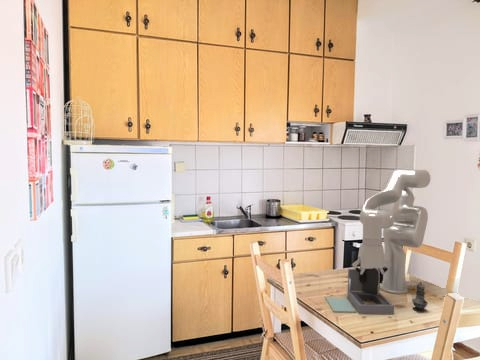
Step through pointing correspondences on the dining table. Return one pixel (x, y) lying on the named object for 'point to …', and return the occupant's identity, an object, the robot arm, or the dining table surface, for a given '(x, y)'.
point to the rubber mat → (340, 305)
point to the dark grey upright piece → (420, 299)
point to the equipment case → (366, 297)
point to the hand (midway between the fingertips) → (370, 282)
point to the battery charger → (371, 281)
